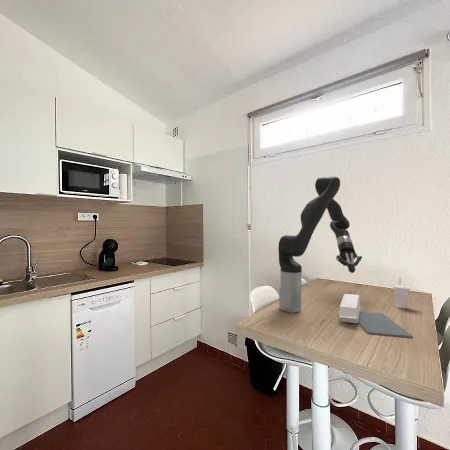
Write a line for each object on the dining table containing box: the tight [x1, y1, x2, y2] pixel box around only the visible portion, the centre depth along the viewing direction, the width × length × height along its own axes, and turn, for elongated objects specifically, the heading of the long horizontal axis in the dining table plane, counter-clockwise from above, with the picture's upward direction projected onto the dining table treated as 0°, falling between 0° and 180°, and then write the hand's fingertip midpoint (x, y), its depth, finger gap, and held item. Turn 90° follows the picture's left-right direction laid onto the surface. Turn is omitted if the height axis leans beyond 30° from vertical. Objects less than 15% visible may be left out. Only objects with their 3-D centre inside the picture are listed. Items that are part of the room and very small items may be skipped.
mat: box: [357, 311, 414, 339], centre depth 93 cm, size 22×14×1 cm, turn 169°
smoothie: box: [392, 276, 411, 310], centre depth 113 cm, size 6×6×14 cm
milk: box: [338, 293, 361, 324], centre depth 100 cm, size 6×6×22 cm
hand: (352, 271), depth 120 cm, fingers closed
